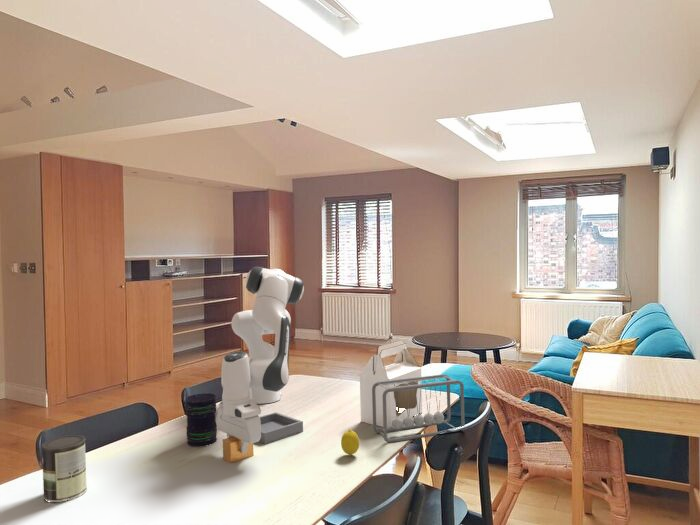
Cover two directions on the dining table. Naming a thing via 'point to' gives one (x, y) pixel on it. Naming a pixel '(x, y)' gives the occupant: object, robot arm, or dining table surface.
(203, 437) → the black ridged cylinder
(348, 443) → the lemon
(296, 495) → the dining table surface
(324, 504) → the dining table surface
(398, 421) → the newton's cradle
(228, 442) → the wooden block
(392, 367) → the gable box
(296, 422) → the grey tray
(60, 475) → the coffee can
